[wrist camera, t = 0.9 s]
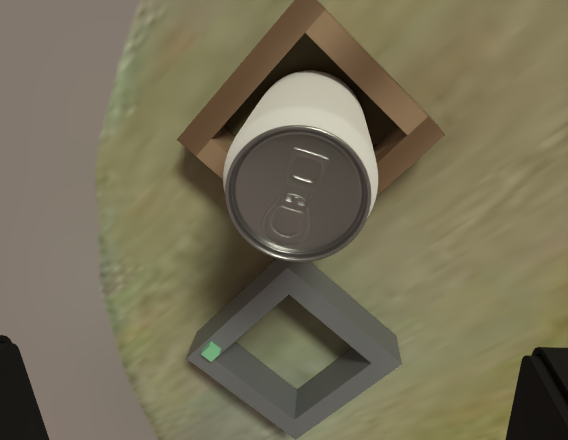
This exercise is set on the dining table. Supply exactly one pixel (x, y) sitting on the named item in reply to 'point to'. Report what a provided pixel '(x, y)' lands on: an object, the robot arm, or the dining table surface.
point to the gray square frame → (267, 384)
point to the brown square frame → (350, 58)
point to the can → (302, 169)
